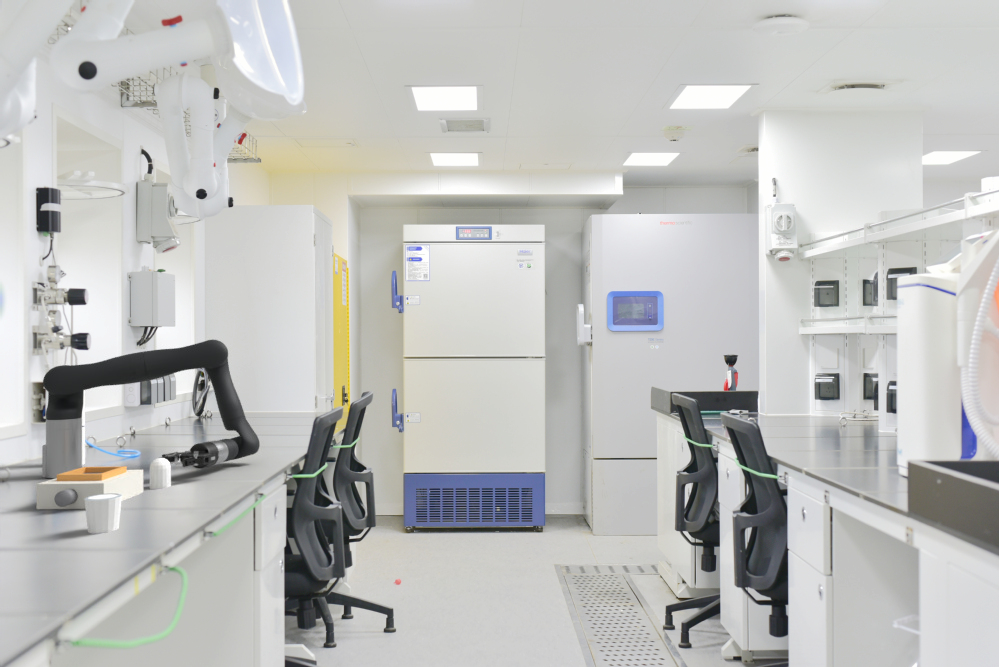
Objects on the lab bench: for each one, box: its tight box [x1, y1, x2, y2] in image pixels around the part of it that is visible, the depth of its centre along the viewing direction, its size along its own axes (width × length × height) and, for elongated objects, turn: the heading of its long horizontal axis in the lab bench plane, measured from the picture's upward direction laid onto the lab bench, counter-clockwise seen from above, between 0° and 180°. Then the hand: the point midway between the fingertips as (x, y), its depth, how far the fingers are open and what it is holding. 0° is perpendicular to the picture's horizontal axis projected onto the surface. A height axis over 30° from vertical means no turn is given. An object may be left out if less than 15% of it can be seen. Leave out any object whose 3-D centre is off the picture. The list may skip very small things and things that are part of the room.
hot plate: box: [36, 466, 144, 510], centre depth 170 cm, size 16×21×8 cm
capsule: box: [149, 457, 172, 490], centre depth 188 cm, size 5×5×8 cm
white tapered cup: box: [85, 493, 123, 534], centre depth 144 cm, size 7×7×7 cm
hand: (170, 462), depth 191 cm, fingers open, 8 cm apart
